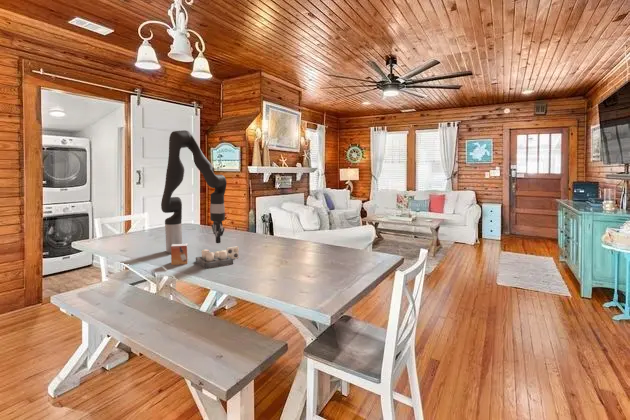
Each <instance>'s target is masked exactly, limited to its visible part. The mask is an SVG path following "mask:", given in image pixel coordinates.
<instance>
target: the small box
mask: <svg viewBox="0 0 630 420" xmlns="http://www.w3.org/2000/svg"><path fill="white" fill-rule="evenodd" d="M188 245H189V243H182V244H172V246H171V253H170V262H171V263H170V264H171V266H173V265H175V266H176V265H187V264H188V263H189V246H188Z"/></svg>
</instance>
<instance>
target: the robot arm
mask: <svg viewBox="0 0 630 420" xmlns="http://www.w3.org/2000/svg"><path fill="white" fill-rule="evenodd" d="M168 139H169V141H168V158H167V159H168V161H167V166H166V173H165V183H164V184H165V185H164V190H163V192H162V193H163V194H162V198H161V201H160V204H161V205H160V206H161V207H160V209H161V211H162V212H163V213H165V214H169V213H171V214H172V215H171V216H169V217H167V218H165V220H164V228H165V229H164V231H165V233H164V235H165V250H166V252H165V253H169V254H171V246H172V244H183V231H182V230H183V229H182V219H183V218H182V217H183V212H182V211H183V208H182V207H183V202H182V199H181V198H180V197H179V196H172V195H173V194H174V192H175V191H176V189H177V188H178V187H179V186H180V185H181V184H182V182H183V180H184V177H185V175H184V174H185V166H184V165H183V163H182V161H181V156H180V155H181V150H182V149H184V148H187V149H188V150H189V151H190V152H191V154H192V155H193V163H194V166H196V168H197V169H198V171H199V172H200V173H201V174H202V177H203V179H204V181H205V183H206V184H207V185H208V186H209V187H210V188H212V189H214V191H213V192H212V193H210V207H209V210H210V211H209V213H210V215H209V216H210V221H211V222H213V223H212V224H211V229H212V232H213V235H214V236H215V243H216V244H221V242H222V241H221V238H222V237H223V235H224V232H225V227H224V226H223V222H224V221H225V220H226V211H225V210H226V209H225V208H226V207H225V193H226V190H227V189H226V188H227V178H226V176H225V175H223V174H215V167H214V165H213V164H212V163H211V162H210V161H209V160H208V158H207V157H206V156H205V154H204V153H203V150H201V148H200V146H199V144H198V143H197V141H196V139H195V137H194V136H193V135H192V133H191V132H190V131H189V130H184V129H183V130H174V131H172V132H171V133H170V135H169V138H168Z"/></svg>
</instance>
